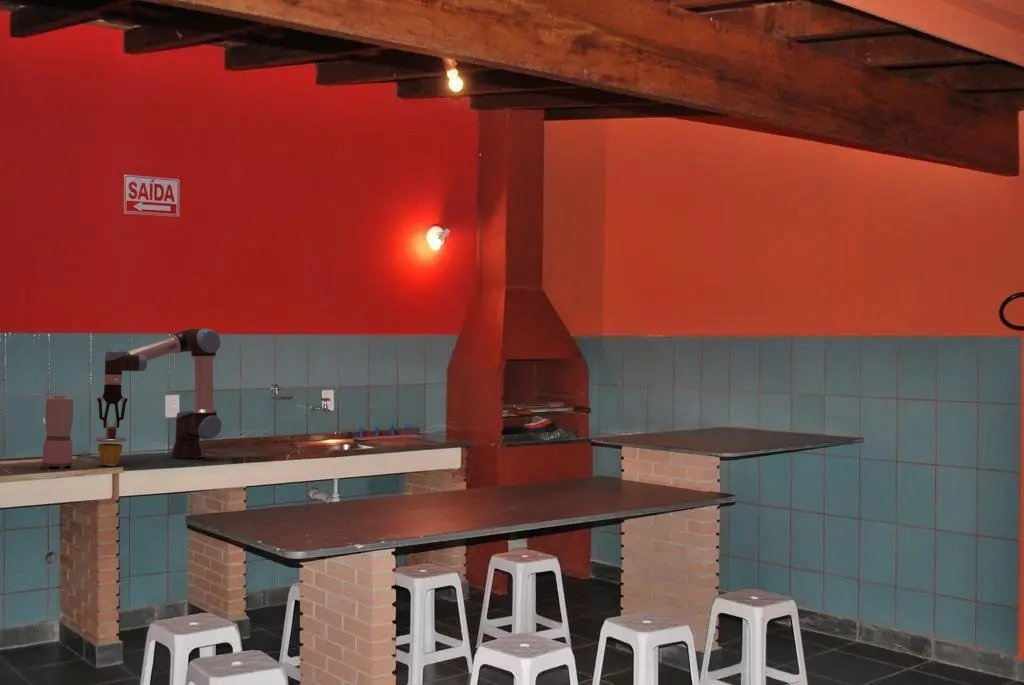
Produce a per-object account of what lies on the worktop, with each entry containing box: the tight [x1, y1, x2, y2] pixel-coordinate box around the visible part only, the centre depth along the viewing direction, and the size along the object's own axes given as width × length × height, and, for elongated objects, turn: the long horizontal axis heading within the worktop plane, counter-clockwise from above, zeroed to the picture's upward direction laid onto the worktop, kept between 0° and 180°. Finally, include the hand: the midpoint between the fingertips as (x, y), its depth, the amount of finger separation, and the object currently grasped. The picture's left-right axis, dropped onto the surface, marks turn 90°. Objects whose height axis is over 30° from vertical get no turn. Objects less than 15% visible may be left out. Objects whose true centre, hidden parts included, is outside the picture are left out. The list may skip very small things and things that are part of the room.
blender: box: [41, 394, 74, 470], centre depth 482 cm, size 16×12×32 cm
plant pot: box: [97, 443, 123, 465], centre depth 494 cm, size 10×10×10 cm
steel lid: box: [94, 425, 127, 443], centre depth 494 cm, size 13×13×6 cm
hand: (110, 435), depth 494 cm, fingers closed on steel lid, 3 cm apart
